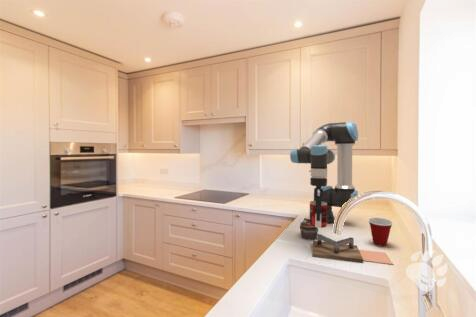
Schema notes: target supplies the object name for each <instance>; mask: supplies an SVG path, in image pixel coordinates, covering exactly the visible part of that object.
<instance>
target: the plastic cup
mask: <svg viewBox="0 0 476 317" xmlns="http://www.w3.org/2000/svg"><path fill="white" fill-rule="evenodd" d="M367 222H368V223H369V227H370V232H371V233H370V234H371V236H372V238H371V239H372V243H373V244H374V245H376V246H379V247H386V246H387V244H388V241H389V236H390V232H391V229H392V226H393V224H394V222H393V221H392V220H390V219H387V218H383V217H371V218H370V217H369V218H368V219H367Z"/></svg>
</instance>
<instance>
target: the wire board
mask: <svg viewBox="0 0 476 317" xmlns="http://www.w3.org/2000/svg"><path fill="white" fill-rule="evenodd" d="M354 241H355V240H354V237H348V238H344V239H340V240H337V241H336V240H334V239H331V238H329V237H326V236H325V235H323V234H321V233H320V234H319V233H318V234H317V239H316V240H312V257H314V258H320V259H328V260H336V261H344V262H352V263H357V264H358V263H360V264H364V261H363V258H362V256H361V254H360V251H359V250H360V249H359V247H358V245H356V244H354V243H355V242H354Z"/></svg>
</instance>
